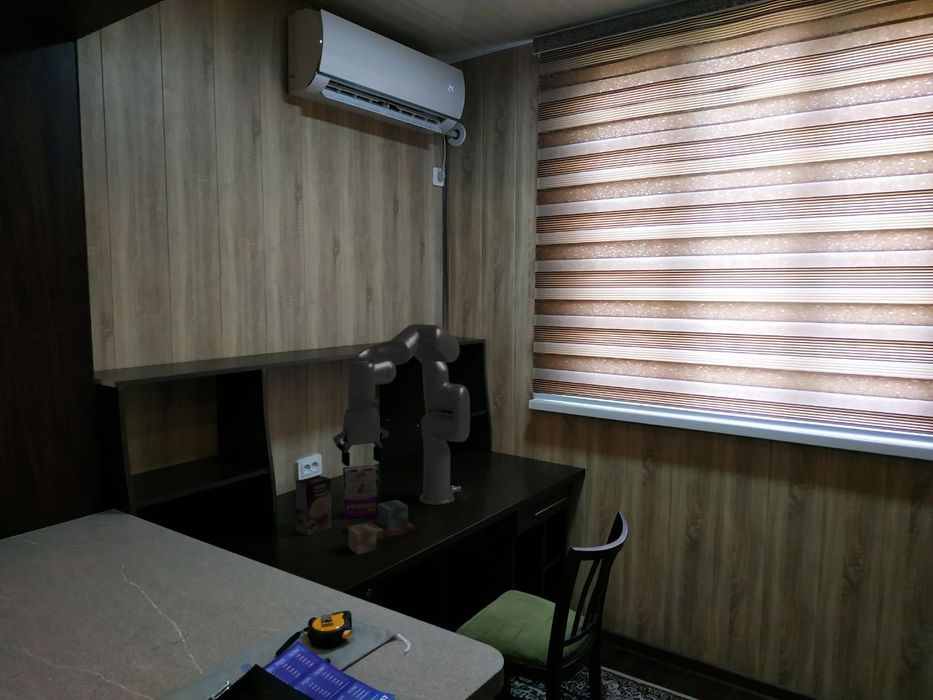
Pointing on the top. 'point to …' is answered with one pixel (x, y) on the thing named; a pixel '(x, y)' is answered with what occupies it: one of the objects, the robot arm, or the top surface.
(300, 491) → the coffee box
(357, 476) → the candy bar box
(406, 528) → the base
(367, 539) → the maple block
